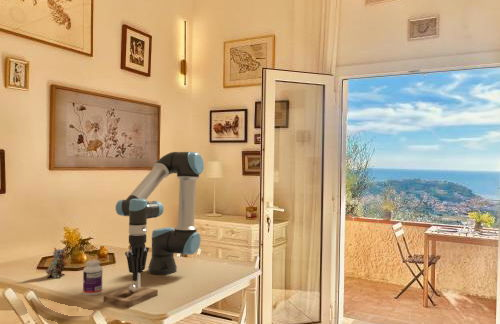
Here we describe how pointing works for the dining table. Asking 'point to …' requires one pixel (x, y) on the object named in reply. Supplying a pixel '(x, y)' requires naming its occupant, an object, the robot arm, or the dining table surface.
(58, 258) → the figurine
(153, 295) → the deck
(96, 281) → the pill bottle
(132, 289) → the ball
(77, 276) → the dining table surface
